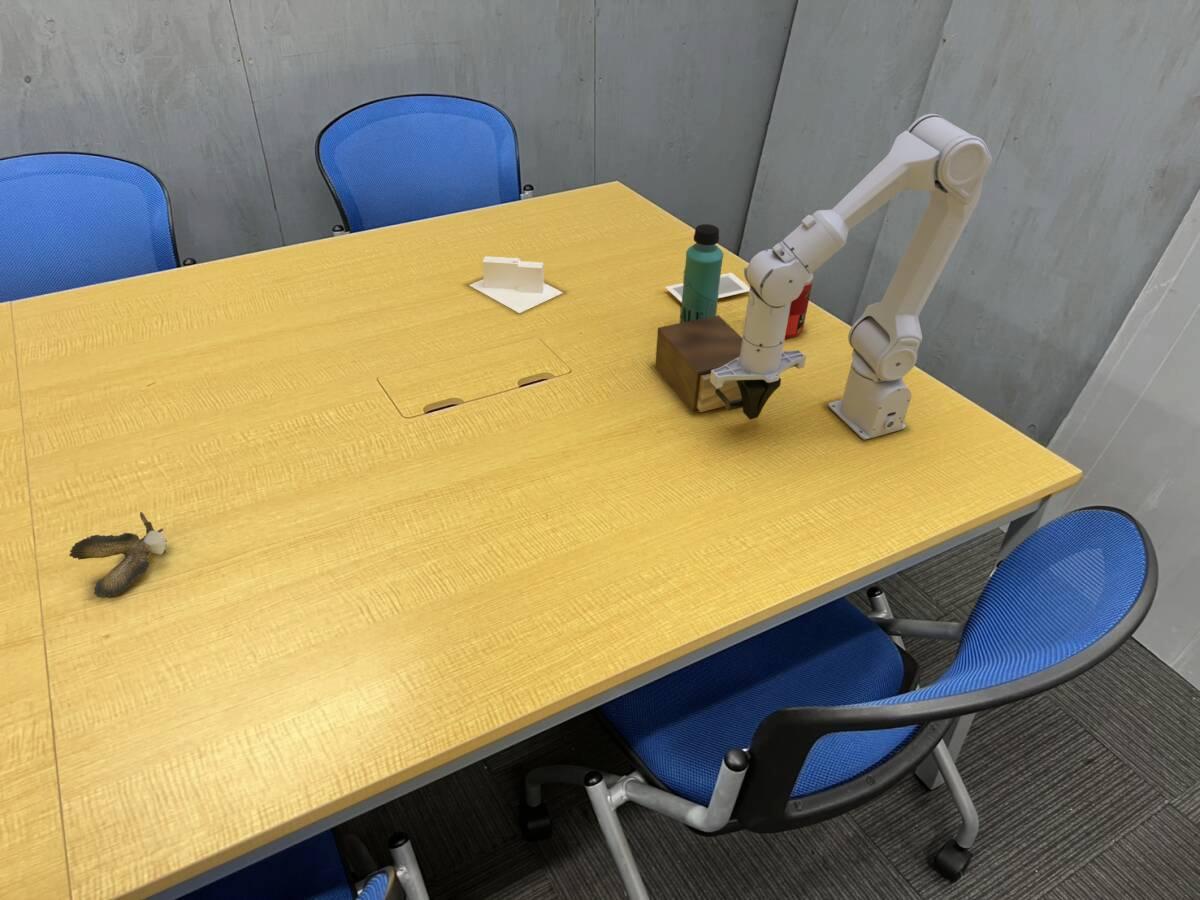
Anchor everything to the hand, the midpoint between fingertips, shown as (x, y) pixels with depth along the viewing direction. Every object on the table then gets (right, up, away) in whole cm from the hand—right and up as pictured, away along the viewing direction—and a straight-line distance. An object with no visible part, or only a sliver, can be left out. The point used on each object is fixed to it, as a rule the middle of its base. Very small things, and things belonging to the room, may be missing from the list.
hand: (750, 415), depth 120 cm
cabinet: (-5, +6, +12) cm, 14 cm away
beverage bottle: (-5, +16, +24) cm, 29 cm away
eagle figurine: (-80, -20, -21) cm, 85 cm away
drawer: (-4, +4, +9) cm, 10 cm away
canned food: (+10, +17, +26) cm, 32 cm away
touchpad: (-2, +25, +35) cm, 43 cm away
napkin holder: (-39, +26, +35) cm, 58 cm away
